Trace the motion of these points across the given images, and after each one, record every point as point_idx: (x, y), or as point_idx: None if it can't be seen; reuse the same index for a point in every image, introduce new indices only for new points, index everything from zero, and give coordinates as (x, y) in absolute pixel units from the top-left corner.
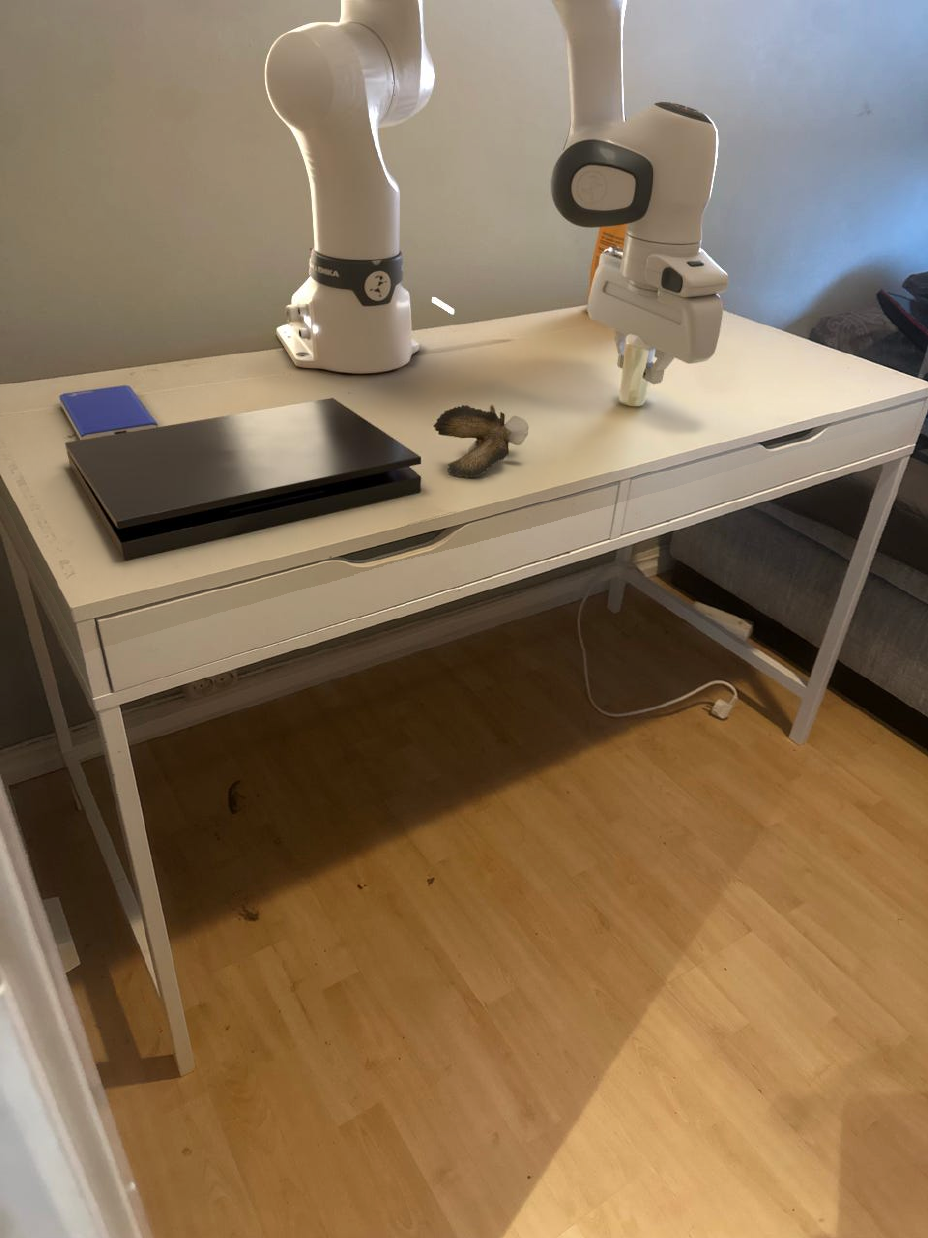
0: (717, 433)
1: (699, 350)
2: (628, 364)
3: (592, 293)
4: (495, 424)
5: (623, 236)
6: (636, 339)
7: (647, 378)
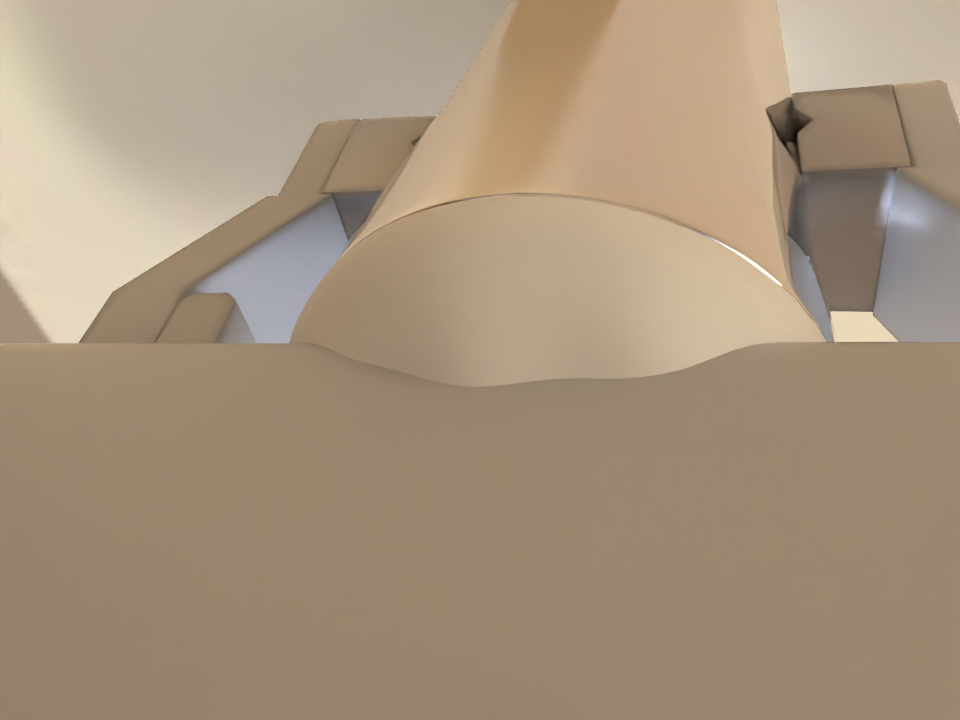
0: (35, 209)
1: None
2: (557, 45)
3: None
4: None
5: None
6: (419, 311)
7: (384, 125)
